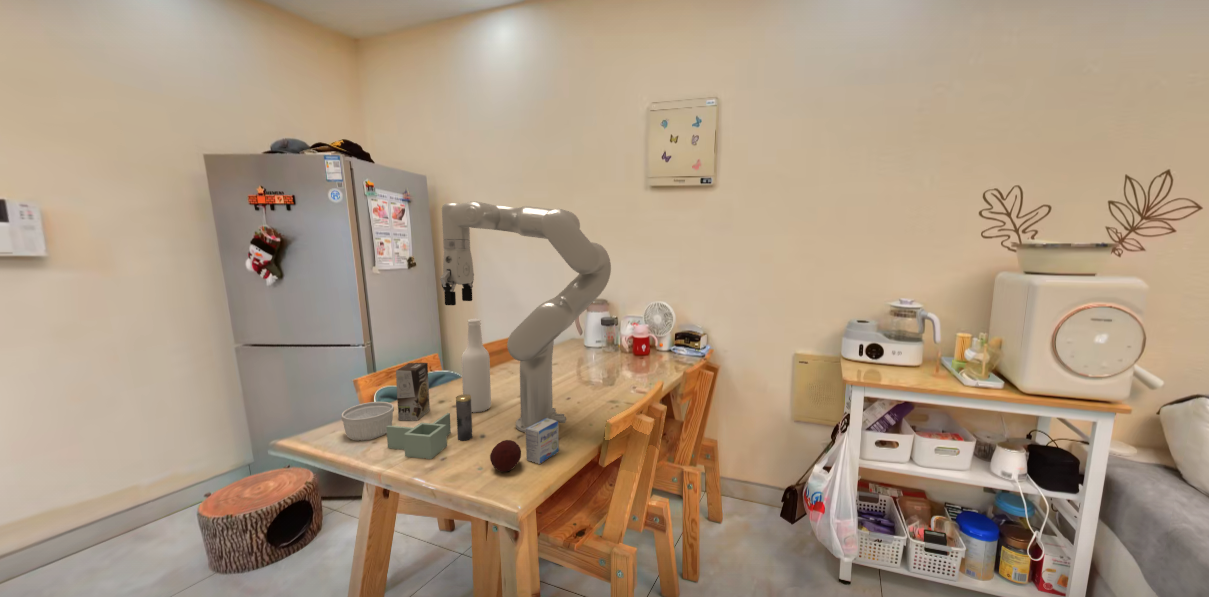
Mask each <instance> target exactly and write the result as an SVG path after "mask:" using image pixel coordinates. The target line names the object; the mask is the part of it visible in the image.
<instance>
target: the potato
mask: <svg viewBox="0 0 1209 597" xmlns="http://www.w3.org/2000/svg"><path fill="white" fill-rule="evenodd" d="M521 457H522V449H521V447H520V445H519V444H518V443H517V442H516V441H514V440H512V439H504V440H501V441H500V442H498V443H496V445H495V446H494V447H493V448H492V449H491V452H490V455H489V460H490V463H491V465H492V466H493V468H495V469H496V470H497V471H498V472H501V473H506V472H509V471H511V470H513V469H514V468H515V467H516V466H517V465H518V464H519V461H520V460H521Z"/></svg>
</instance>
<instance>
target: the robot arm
mask: <svg viewBox="0 0 1209 597" xmlns="http://www.w3.org/2000/svg"><path fill="white" fill-rule="evenodd" d="M441 219H442V220H441V221H442V224H441V225H442V239H443V240H442V243H443V244H442V246H443V258H442V260H443V261H442V262H443V263H442V275H441V276H440V277H439V280H440V283H441V287H442V291H443V292H444V293H443V294H444V296H443V297H444V305H445V306H456V305H457V301H456V300H457V299H456V296H457V294H456V291H455V289H456V287H457V285H460V286H462V287H461V300H462V302H472V301H473V287H474V286H473V283H474V281H475V279H474V278H475V277H474V276H475V273H474V265H473V263H474V262H473V256H472V252H471V233H470V232H471V231H470V228H471V229H472V228H473V229H480V230H481V229H483V230H491V231H492V230H493V231H501V232H508V233H509V232H510V233H515V234H517V235H519V236H523V237H529V238H536V239H537V238H538V239H545V240H548V242H549V243H550V245H552V247H553V248H554V249H555V250H556V251H557V252H558V255H560V257H561V258H562V259H563V260H564V261H565V263H567V265H568V266H569V267H570V268H571V269H572V271H574V272H575V273H578V275H577V276H576V277H574V279H573V280H572V281H570V282H569V283H568V284H567V285H566V287H565V288H564V289H563V290H562V291H560V292H559V293H558V294H557V295H556V296H555V297H553V298H550V299H549V300H546V301H543V302H542V303H541V304H539V305H538V306H537V307H536V308H535V309H534V310H532V312H530V314H529V315H528V316H527V317H525V319H523V320H522V322H520V323H519V325H517V326H516V327H515V328H514V330H512V332H511V333H510V334H509V337H508V339H507V342H506V343H507V344H506V345H507V346H506V347H507V351H508V353H509V355H510V356H511V357H512V359H514V360H516V361H518V362H519V397H520V402H519V403H520V417H519V418H518V419H517V420H516V421H515V428H516V430H518V431H520V432H522V433H525V434H526V428H528V427H530V426H532V425H534V424H536V423H537V422H539V421H541V420H543V419H545V418H548V419H552V420H556V421H558V424H559V423H561V424H566V421H567V416H565V413H557V412H556V408H555V407H553V354H554V345H555V344H554V343H555V340H556V339H557V338H558V337H559V336H560V335H561V334H562V333H563V332H565V331H566V330H567V329H568V328H570V327H571V326H572V325H573V324H574V322H575V321H576V320H577V319H578V318H579V317H580V315H582V314H583V313H584V312H585V311H586V310H587V309H588V308H589V306H591V304H592V303H594V302H595V301H596V299H598V297H600V295H601V294H602V292H603V291H604V290H605V289H606V287H607V285H608V283H609V281H610V276H611V274H612V273H611V272H612V265H611V259H610V258H611V257H610V255H609V253H608V251H607V250H606V248H605V247H604V246H603V245H601V244H600V243H597V242H591V241H590V239H589V238H588V237H587V236H586V234H584V232H583V231H582V230H581V229H580V228H581V223H580V219H579V217H578V216H577V215H576V214H575V213H573V212H572V211H569V210H566V209H562V208H545V207H537V206H530V205H524V206H522V207H512V206H504V205H497V204H496V205H495V204H490V203H486V202H481V201H467V202H462V203H460V202H445V203H443V204H442V207H441Z"/></svg>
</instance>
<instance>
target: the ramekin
mask: <svg viewBox="0 0 1209 597" xmlns="http://www.w3.org/2000/svg"><path fill="white" fill-rule="evenodd" d="M394 410H395V409H394V404H393V403H391V402H387V401H371V402H365V403H360V404H357V405H353V406H351V407H349V408H347V409H345V410H343V412H342V413H341V421H342V422H343V423H342V424H343V428H344V432H345V435H346V437H347V438H349V439H350V440H353V441H359V440H361V441H368V440H369V441H370V440H373V439H377V438H380V437H383V436H384V435H387V428H386V427H387V426H388V425H389V426H393V416H394Z"/></svg>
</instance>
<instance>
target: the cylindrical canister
mask: <svg viewBox="0 0 1209 597" xmlns="http://www.w3.org/2000/svg"><path fill="white" fill-rule="evenodd" d="M455 410H456V411H455V412H456V430H457V431H456V433H457V440H458V441H459V440H460V442H468V441H469V440H471V439H473V416H472V410H471V395H468V394H463V393H462V394H458V395H457V396H455Z"/></svg>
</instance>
